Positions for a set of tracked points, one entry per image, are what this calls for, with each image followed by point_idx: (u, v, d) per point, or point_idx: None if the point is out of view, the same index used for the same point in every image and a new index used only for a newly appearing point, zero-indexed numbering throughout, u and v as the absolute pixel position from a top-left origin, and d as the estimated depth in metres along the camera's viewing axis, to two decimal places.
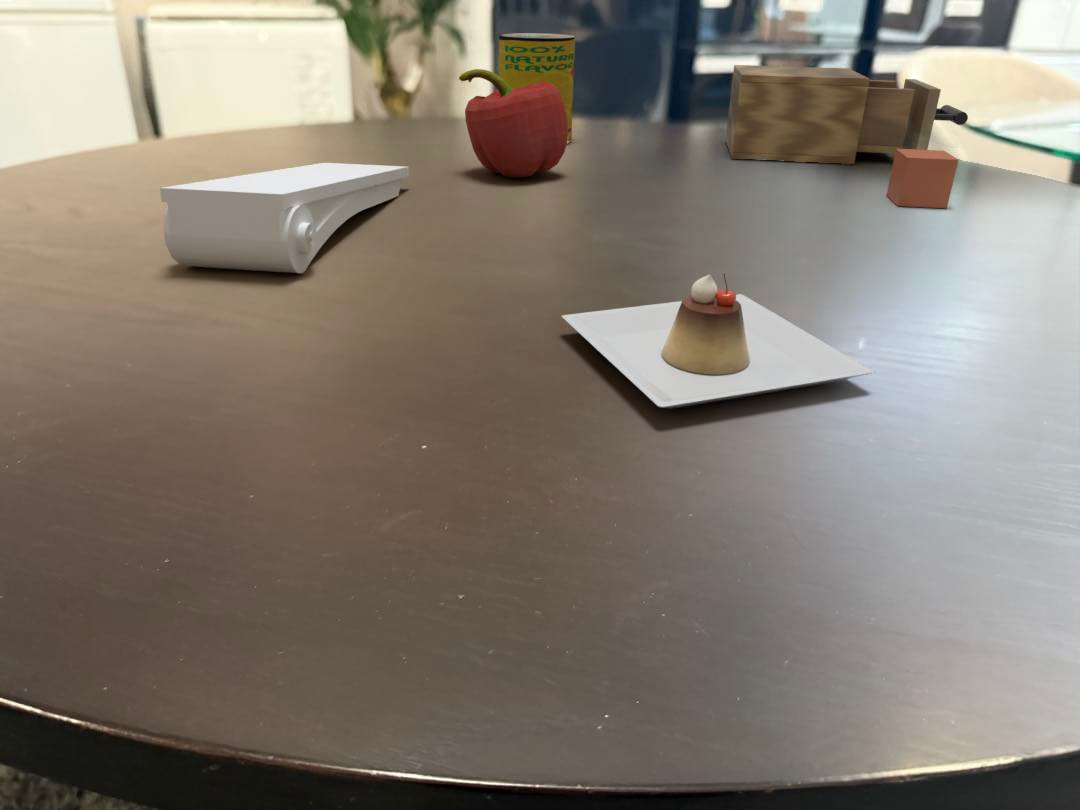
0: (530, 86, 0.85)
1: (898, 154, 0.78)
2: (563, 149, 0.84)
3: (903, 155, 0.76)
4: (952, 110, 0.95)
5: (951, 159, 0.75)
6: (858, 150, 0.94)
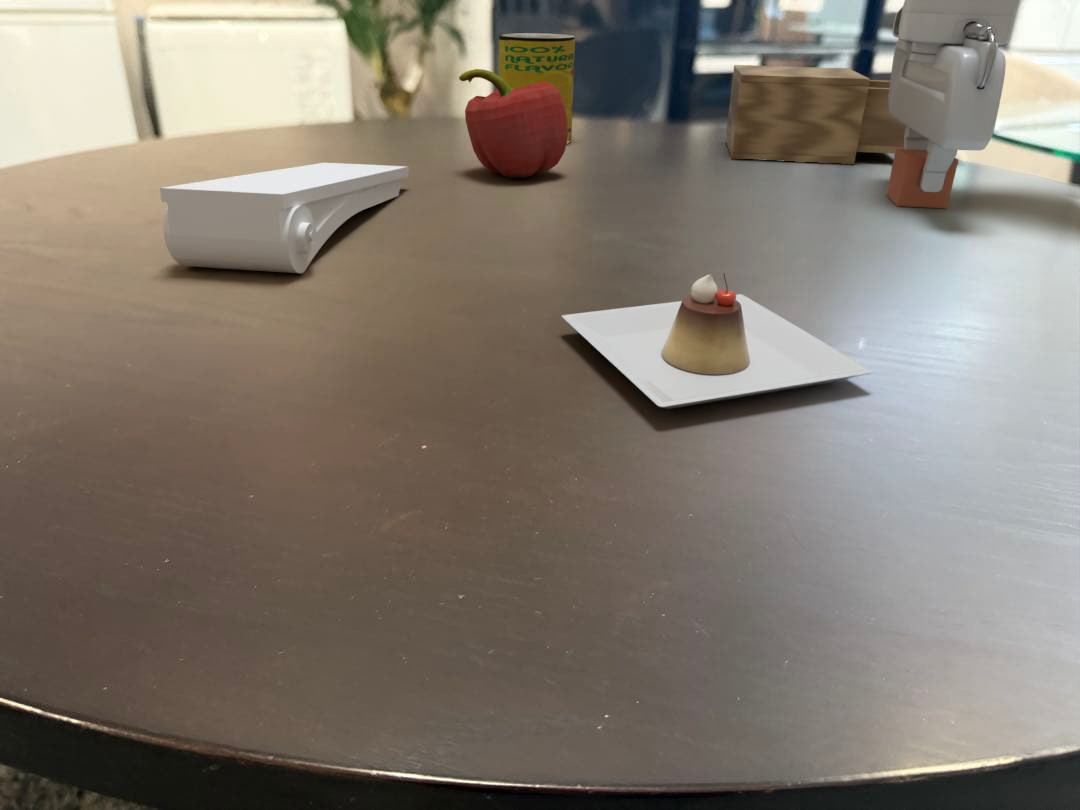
0: (530, 86, 0.85)
1: (898, 154, 0.78)
2: (563, 149, 0.84)
3: (903, 155, 0.76)
4: None
5: None
6: (858, 150, 0.94)
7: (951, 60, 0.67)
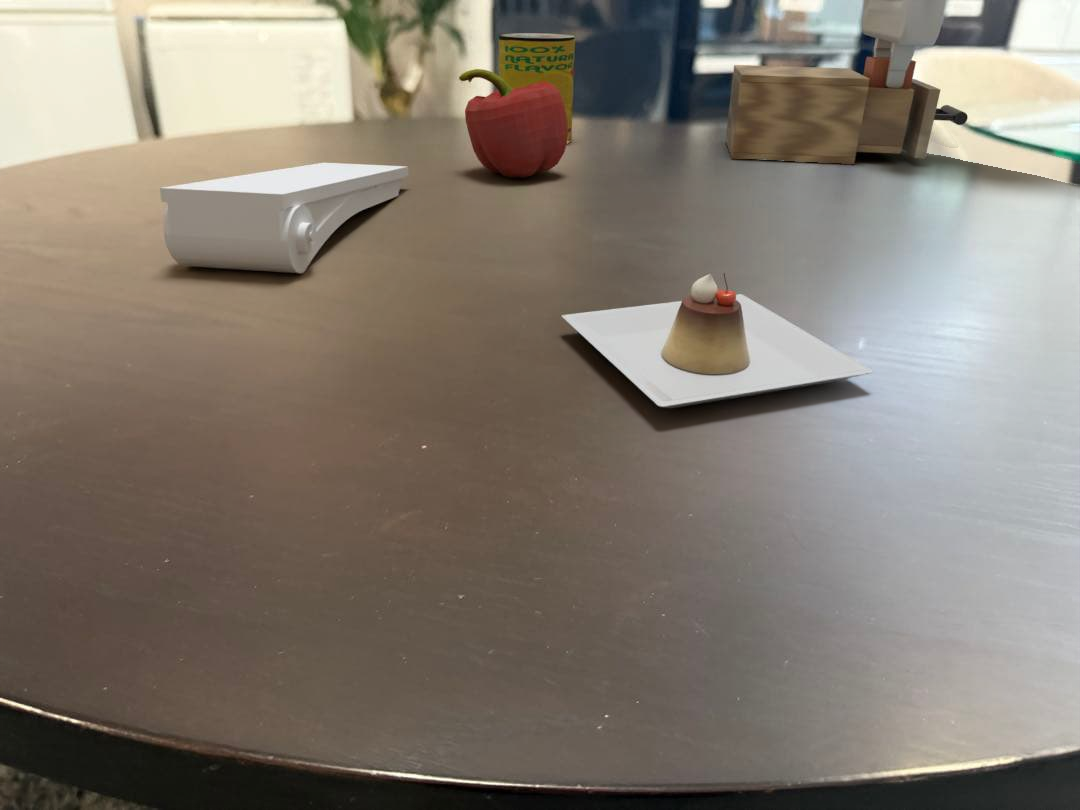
0: (530, 86, 0.85)
1: (868, 60, 0.95)
2: (563, 149, 0.84)
3: (871, 59, 0.93)
4: (952, 110, 0.95)
5: None
6: (858, 150, 0.94)
7: None
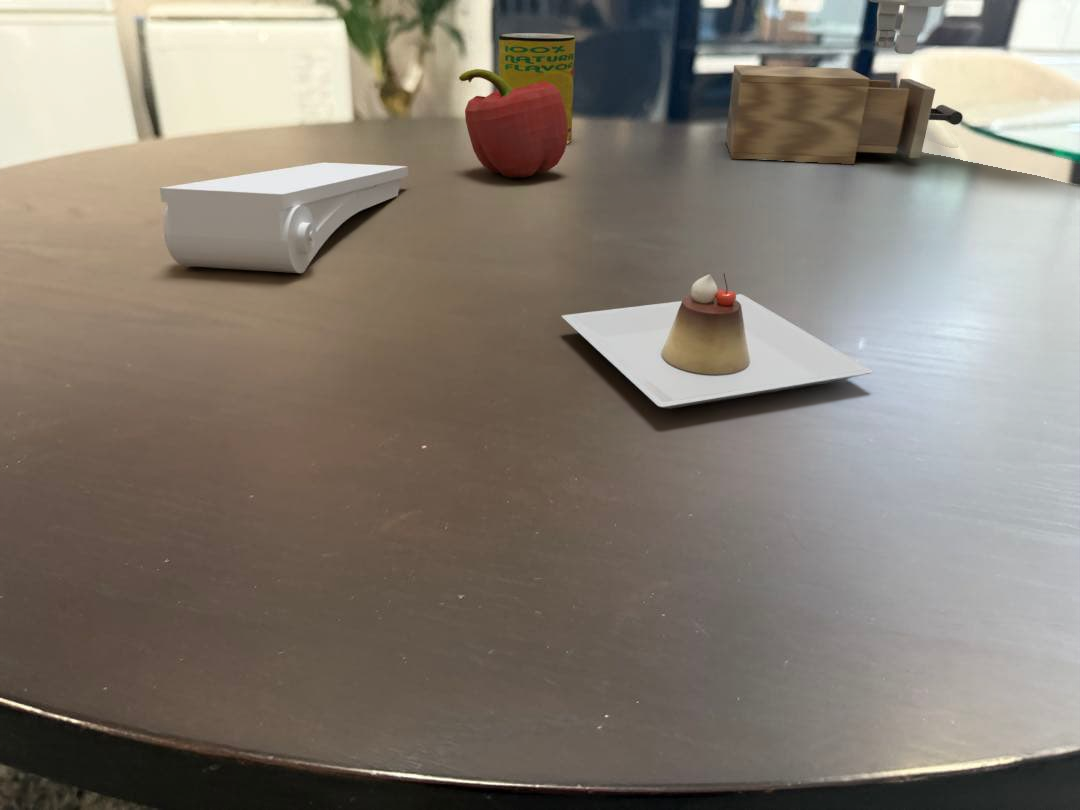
0: (530, 86, 0.85)
1: None
2: (563, 149, 0.84)
3: None
4: (947, 110, 0.95)
5: None
6: None
7: None
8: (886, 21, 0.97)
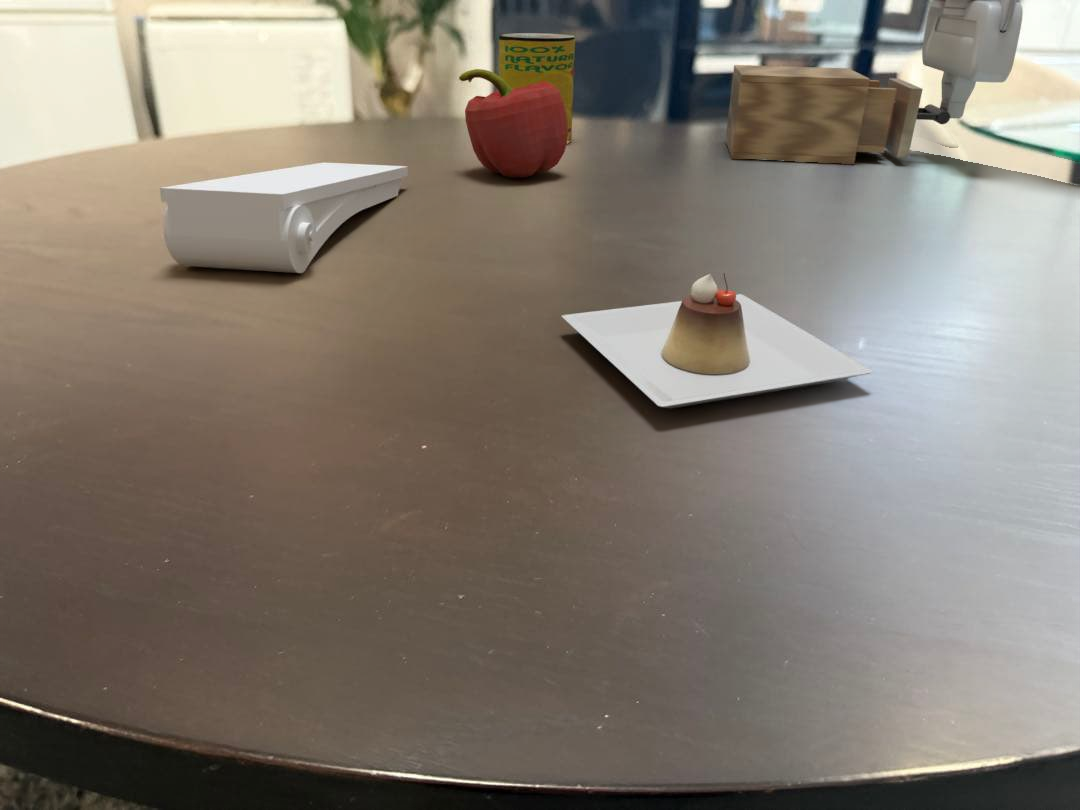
0: (530, 86, 0.85)
1: None
2: (563, 149, 0.84)
3: None
4: (935, 109, 0.95)
5: None
6: None
7: (979, 11, 0.85)
8: None
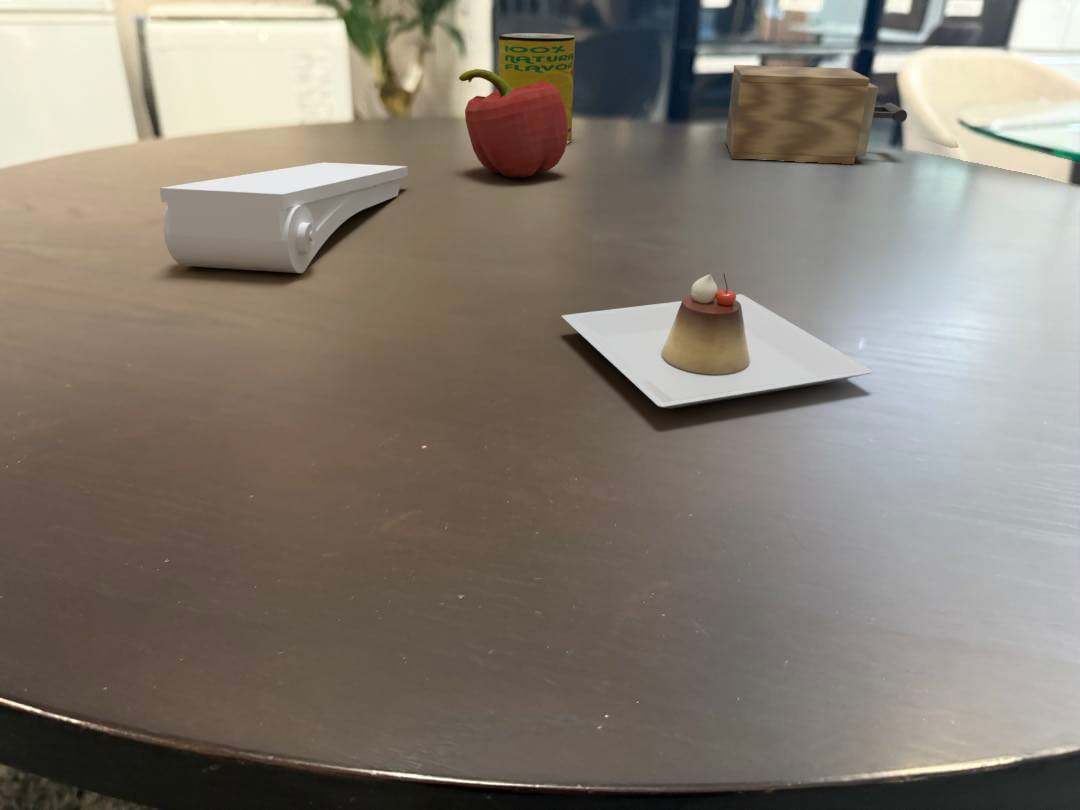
0: (530, 86, 0.85)
1: None
2: (563, 149, 0.84)
3: None
4: (893, 108, 0.95)
5: None
6: None
7: None
8: None
